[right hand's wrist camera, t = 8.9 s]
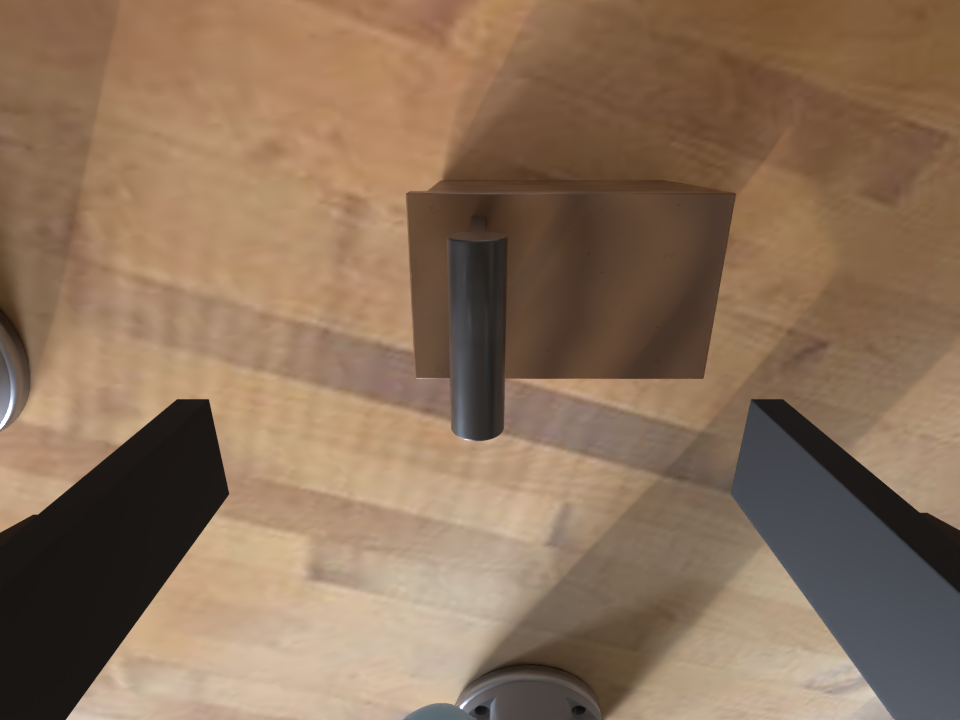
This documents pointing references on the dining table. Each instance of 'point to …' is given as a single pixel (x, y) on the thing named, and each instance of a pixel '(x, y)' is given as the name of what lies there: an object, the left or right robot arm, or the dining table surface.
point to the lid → (560, 289)
